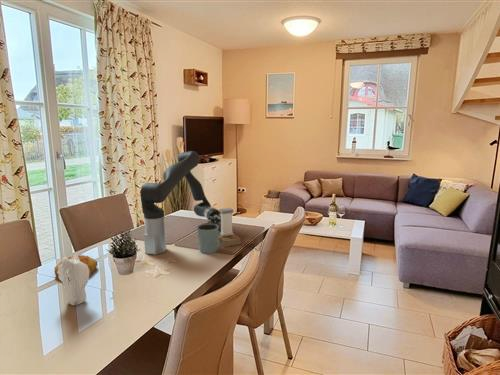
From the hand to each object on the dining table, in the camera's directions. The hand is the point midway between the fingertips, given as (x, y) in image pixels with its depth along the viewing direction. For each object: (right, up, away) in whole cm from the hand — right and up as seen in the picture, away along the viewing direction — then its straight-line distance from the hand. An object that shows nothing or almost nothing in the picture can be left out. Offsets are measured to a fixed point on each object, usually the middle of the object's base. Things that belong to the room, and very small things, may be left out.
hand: (225, 222), depth 170 cm
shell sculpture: (-47, -21, -57) cm, 77 cm away
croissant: (-59, -17, -36) cm, 71 cm away
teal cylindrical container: (-7, -12, -12) cm, 18 cm away
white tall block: (+1, -6, 0) cm, 6 cm away
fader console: (-1, -9, +4) cm, 10 cm away
